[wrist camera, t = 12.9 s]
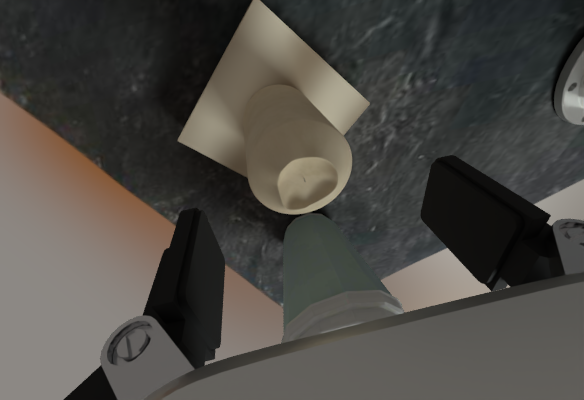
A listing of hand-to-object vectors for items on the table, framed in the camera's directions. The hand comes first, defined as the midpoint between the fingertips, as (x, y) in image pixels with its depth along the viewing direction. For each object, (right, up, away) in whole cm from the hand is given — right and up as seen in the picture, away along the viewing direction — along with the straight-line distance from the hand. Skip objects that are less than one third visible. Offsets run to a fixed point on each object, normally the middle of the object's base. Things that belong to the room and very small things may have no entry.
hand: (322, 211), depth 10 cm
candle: (-2, +7, +10) cm, 12 cm away
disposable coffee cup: (+1, -3, +21) cm, 21 cm away
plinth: (-3, +8, +12) cm, 15 cm away
